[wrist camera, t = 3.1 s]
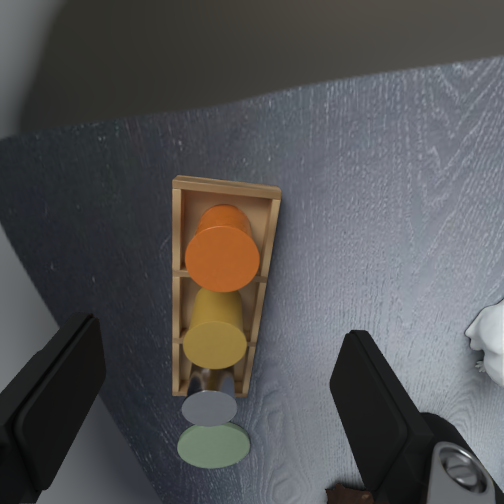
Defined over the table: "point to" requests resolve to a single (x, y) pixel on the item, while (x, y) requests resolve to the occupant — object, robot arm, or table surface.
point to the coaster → (213, 445)
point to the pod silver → (210, 396)
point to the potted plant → (349, 496)
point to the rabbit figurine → (490, 341)
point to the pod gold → (215, 330)
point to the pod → (222, 250)
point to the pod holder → (185, 288)
